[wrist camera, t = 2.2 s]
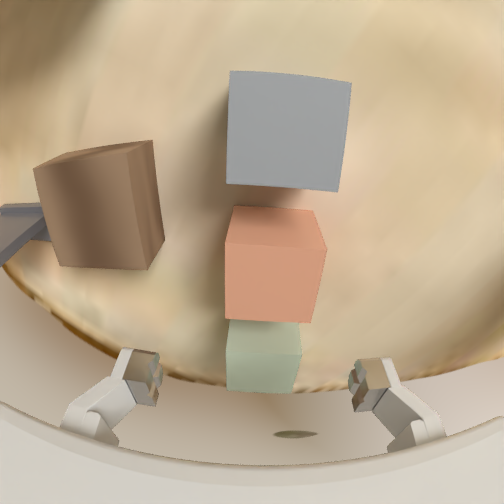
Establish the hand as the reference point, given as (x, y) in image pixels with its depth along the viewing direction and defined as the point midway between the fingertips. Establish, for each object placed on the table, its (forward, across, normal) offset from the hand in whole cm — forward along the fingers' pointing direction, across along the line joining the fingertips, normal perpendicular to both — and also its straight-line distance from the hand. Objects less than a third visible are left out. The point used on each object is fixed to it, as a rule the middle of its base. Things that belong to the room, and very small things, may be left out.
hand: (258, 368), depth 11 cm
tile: (+10, +19, -1) cm, 22 cm away
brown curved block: (+11, +10, -3) cm, 15 cm away
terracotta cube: (+10, -1, 0) cm, 10 cm away
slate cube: (+10, -1, -8) cm, 13 cm away
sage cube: (+10, -1, +8) cm, 13 cm away
